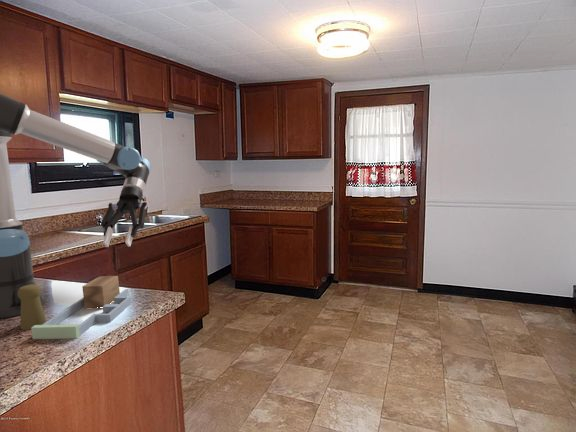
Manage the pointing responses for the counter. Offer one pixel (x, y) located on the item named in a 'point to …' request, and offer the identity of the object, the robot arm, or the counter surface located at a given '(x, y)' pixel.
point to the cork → (31, 307)
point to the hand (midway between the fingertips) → (116, 244)
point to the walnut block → (100, 291)
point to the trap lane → (75, 330)
